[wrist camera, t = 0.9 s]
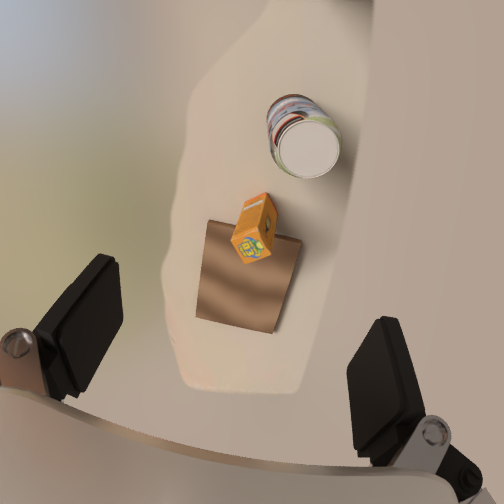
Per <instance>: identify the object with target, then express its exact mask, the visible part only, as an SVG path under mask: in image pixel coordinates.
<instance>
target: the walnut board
mask: <svg viewBox="0 0 504 504" xmlns="http://www.w3.org/2000/svg"><path fill="white" fill-rule="evenodd" d="M235 228H236V225H231V224H227V223H222V222H218V221H213V220H209V221H208V223H207V230H206V237H205V244H204V252H203V259H202V267H201V275H200V283H199V291H198V299H197V308H196V317H197V318H201V319H206V320H210V321H214V322H218V323H223V324H227V325H232V326H236V327H241V328H245V329H250V330H255V331H260V332H264V333H269V334H272V333H273V331H274V328H275V325H276V322H277V319H278V316H279V313H280V310H281V307H282V304H283V301H284V298H285V295H286V292H287V288H288V285H289V282H290V279H291V276H292V273H293V270H294V267H295V263H296V260H297V257H298V254H299V251H300V247H301V244H302V242H301V240H298V239H294V238H290V237H285V236H281V235H276V234H274V241H273V248H272V254H271V255H270V256H267V257H265V258H262V259H259V260H257V261H254V262H251V263H248V264H244V263H243V261H242V259H241V258H240V256H239V254H238V253H237V251H236V249H235V247H234V246H233V244H232V242H231V238H232V236H233V233H234V230H235Z"/></svg>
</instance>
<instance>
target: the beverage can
mask: <svg viewBox="0 0 504 504" xmlns="http://www.w3.org/2000/svg"><path fill="white" fill-rule="evenodd" d="M267 128H268V136H269V144H270V151H271V154H272V157H273V159H274V161H275V163H276V164H277V165H278V166H279V168H281V169H282V170H283V171H284V172H286V173H288V174H289V175H292V176H294V177H299V178H316V177H319V176H321V175H324V174H325V173H327V172H328V171H329V170H330V169H331V168H332V167H333V166H334V165H335V163H336V162H337V160H338V159H339V157H340V154H341V149H342V138H341V134H340V131H339V129H338V127H337V126H336V124H335V123H334V122H333V121H332V120H331V119H330V118H329V117H328V116H327V115H326V114H325V113H324V112H323V111H322V110H321V109H320V108H319V107H318V106H317V105H316V104H315V103H314V102H313V101H312V100H311V99H309V98H307V97H305V96H303V95H298V94H290V95H286V96H283V97H281V98H279V99H278V100H276V101H275V102H274V103H273V104H272V105H271V107H270V109H269V111H268V114H267Z"/></svg>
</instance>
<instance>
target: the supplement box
mask: <svg viewBox="0 0 504 504" xmlns="http://www.w3.org/2000/svg"><path fill="white" fill-rule="evenodd" d="M276 221H277V211H276V209H275V207H274V205H273V203H272V201H271V199H270V197H269V195H268V194H267V193H266V192H265V193H263V194H261V195H259V196H257V197H255V198H253V199H250V200H248V201H246V202H245V203H244V206H243V209H242V211H241V214H240V217H239V220H238V222H237V225H236V228H235V230H234V233H233V236H232V238H231V242H232V244H233V246H234V247H235V249H236V251H237V253H238V254H239V256H240V258H241V259H242V261H243V263H244V264H248V263H251V262H254V261H257V260H259V259H262V258H265V257H267V256H270V255H271V254H272V248H273V241H274V234H275V228H276Z"/></svg>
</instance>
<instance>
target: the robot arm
mask: <svg viewBox="0 0 504 504" xmlns="http://www.w3.org/2000/svg"><path fill="white" fill-rule="evenodd" d="M122 322H123V309H122V298H121V287H120V275H119V264H118V263H117V262H115V258H114V257H111V256H108V255H104V254H98V255H97V256H96V257H95V258H94V259H93V260H92V261H91V262H90V263H89V265H88V266H87V267H86V268H85V269H84V270H83V272H82V273H81V274H80V275H79V276H78V277H77V278H76V280H75V281H74V282H73V283H72V284H70V285H69V286H68V287H67V289H66V290H65V291H64V292H63V294H62V295H61V296H60V297H59V298H58V300H57V301H56V302H55V303H54V304H53V306H52V307H51V308H50V309H49V311H48V312H47V313H46V314H45V316H44V317H43V318H42V320H41V321H40V322H39V324H38V325H37V326H36V328H35V329H34V330H33V331H32V332H31V331H30V330H28V329H25V328H16V329H13V330H10V331H9V332H7V333H6V334H5V335H4V336H3V337H2V339H1V341H0V504H496V503H495V501H494V500H493V498H492V497H491V495H490V494H489V492H488V491H487V489H486V488H483V489H482V488H481V486H482V481H483V478H482V473H481V471H480V469H479V468H478V467H477V466H476V465H475V464H474V463H473V462H472V461H470V460H469V459H468V458H467V457H465V456H464V455H463V454H462V453H461V452H459V451H458V450H457V449H456V448H455V447H453V446H452V445H451V444H450V441H451V431H450V428H449V426H448V424H447V423H446V422H445V421H444V420H443V419H442V418H440V417H438V416H435V415H428V416H426V414H425V407H424V403H423V400H422V396H421V392H420V388H419V385H418V381H417V378H416V375H415V371H414V367H413V364H412V361H411V358H410V355H409V351H408V348H407V345H406V342H405V339H404V335H403V332H402V329H401V327H400V324H399V321H398V319H397V318H393V317H387V316H382V317H381V318H380V319H376V320H375V322H374V323H373V325H372V327H371V329H370V330H369V332H368V334H367V335H366V337H365V339H364V340H363V342H362V344H361V346H360V347H359V349H358V350H357V352H356V354H355V355H354V357H353V359H352V360H351V361H350V363H349V365H348V367H347V381H348V391H349V400H350V409H351V410H350V411H351V421H352V432H353V446H354V449H355V450H357V453H358V457H370V462H371V464H370V465H369V467H344V466H342V467H341V466H318V465H304V464H293V463H283V462H274V461H266V460H259V459H252V458H246V457H240V456H234V455H229V454H223V453H218V452H213V451H209V450H204V449H200V448H195V447H191V446H187V445H183V444H179V443H175V442H172V441H168V440H164V439H161V438H157V437H154V436H151V435H147V434H144V433H141V432H138V431H134V430H131V429H129V428H126V427H123V426H120V425H117V424H115V423H112V422H109V421H106V420H104V419H101V418H98V417H96V416H93V415H90V414H88V413H85V412H83V411H81V410H78V409H76V408H74V407H71V406H69V405H67V404H64V401H63V399H64V398H65V396H66V395H67V394H68V395H71V396H73V397H75V398H78V396H79V394H80V392H85V391H86V389H87V387H88V385H89V383H90V381H91V380H92V378H93V376H94V374H95V372H96V370H97V368H98V366H99V365H100V362H101V361H102V359H103V357H104V355H105V353H106V351H107V350H108V348H109V346H110V344H111V343H112V341H113V339H114V337H115V335H116V334H117V332H118V330H119V329H120V327H121V325H122Z"/></svg>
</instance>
